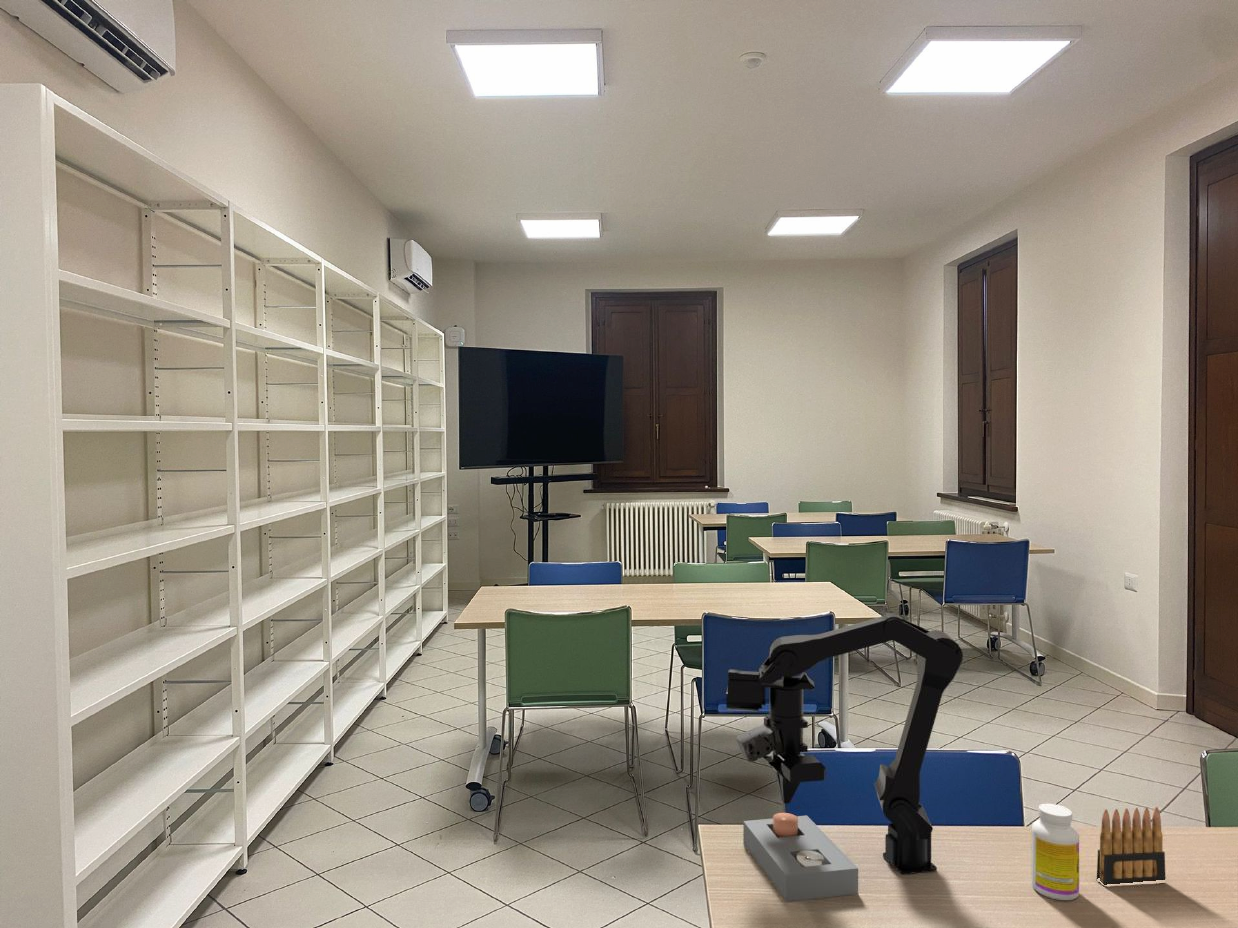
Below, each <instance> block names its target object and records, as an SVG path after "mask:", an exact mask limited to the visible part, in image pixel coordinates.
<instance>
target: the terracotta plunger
mask: <svg viewBox="0 0 1238 928" xmlns="http://www.w3.org/2000/svg"><path fill="white" fill-rule="evenodd" d="M796 816H797V815H794V814H792V813H788V812H777V813H775V814H774V815H773V816H772V819H773V833H774V834H775V835H776V837H777V838H779V837H790V836H798V818H797V817H796Z"/></svg>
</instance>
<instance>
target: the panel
mask: <svg viewBox="0 0 1238 928" xmlns="http://www.w3.org/2000/svg"><path fill="white" fill-rule="evenodd" d="M795 816H796V817H797V818H798V836H790V837H779V838H777V837H776V835H775V834H774V833H773V818H763V819H752V820H751V819H750V820H743V823H742V825H743V831H742V833H743V834H742V835H743V840H742V841H743V845H744V847H745V848H746V849H747V850H748V852H749V853H750V855H751V856H752V857H753V859H754V860H755V862H756V863H757V864H758V866H759V867H760V869H762V871H763V872H764V874H765V875H766V877H768V879H769V881H770V882H771V883H772V885H773V886H774V888H776V890H777V891H778V893H779V894H780V896H781V897H782V898H783V900H784V901H785V902H786V903H788V902H795V901H796V902H797V901H804V900H812V899H813V900H814V899H821V898H822V899H823V898H832V897H833V898H834V897H842V896H849V895H850V896H851V895H858V894H859V867H858V866H857V865H856V864H855V863H854V862H853V861H852V860H851V859H850V858H849V857H848V856H847V855H846V854H845V853H844V852H843V851H842V850H841V849H840V848H839V846H837V845H836V844H835V843H834V842H833V840H831V838H830V837H828V835H826V833H825V832H824V831H823V830H822V829H821V828H820V827H819V826H818V825H817V824H816V823H815V822H814V821H813V820H812V819H811V818H810V817H809V816H808V815H795ZM805 850H809V851H815V852H818V853H820V854H821V855H822V856H823V857H824V865H818V866H808V867H802V866H801V865H800V864H799V863H798V862H797V853H798V852H800V851H805Z"/></svg>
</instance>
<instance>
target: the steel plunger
mask: <svg viewBox="0 0 1238 928" xmlns="http://www.w3.org/2000/svg"><path fill="white" fill-rule="evenodd" d="M797 862H798V863H799V864H800V865H801V866H802V867H808V866H818V865H824V857H823V856H822V855H821V854H820V853H818V852H815V851H809V850H805V851H800V852H798V853H797Z"/></svg>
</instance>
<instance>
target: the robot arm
mask: <svg viewBox="0 0 1238 928" xmlns="http://www.w3.org/2000/svg"><path fill="white" fill-rule="evenodd" d="M888 642H895V643H898V644H900V645H901V646H903V647H904V648H906V649H908V650H909V651H910V652H913V653H915V654H916V655H917V659H916V673H917V675H916V677H917V680H916V685H915V688H914V691H913V695H912V698H911V702H910V706H909V708H908V713H907V715H906V719H905V723H904V726H903V730H902V734H901V736H900V740H899V744H898V746H897V747H898V748H897V749H896V750H897V751H896V754H895V757H894V759H893V761H892V762H891V763H890V764H889V766H887V765H885V764H883V763H880V764H879V774H878V777H877V780H876V781H875V782H874V783H873V785H874V787H875V790H876V791H875V792H876V796H877V798H878V801H879V804H880V808H881V810H882V813H883V814H884V816H885V819H887V820H888V821H889V822H890V823H888V824H887V833H886V834H885V837H884V838H885V840H884V842H885V844H884V845H885V848H884V849H885V852H882V857H883V858H884V859H885V860H886V861H887V862H888V863H890V865H891V866H892V867H894V868H895V870H896V871H898V872H899V873H900V874H902V875H909V874H918V873H928V872H937V871H938V869H937V868H938V867H937V866H936V865H935V864H934V863H933V862H932V832H933V830H934V828H933V825H932V823H931V822H930V819H929V817H928V815H927V813H926V810H925V808H924V806H923V804H922V803H920V800H921V771H922V766H923V763H924V759H925V756H926V752H927V749H928V746H929V742H930V739H931V735H932V732H933V728H934V724H935V721H936V718H937V715H938V710H939V707H940V705H941V700H942V698H943V694H944V692H945V691H946V689H947V688H948V687H949V685H950V684H951V683H952V681H953V680H954V679H955V677H956V675H957V673H958V671H959V669H960V668H961V665H962V663H963V657H964V654H963V653H964V652H963V649H962V648H961V646H960V645H959V644H958V643H957V641H955V640H954V639H953V638H952V637H951V636H950V635H948V633H947V632H944V631H942V630H937V629H935V630H927V629H925V628H924V627H923V626H920V625H917V624H916V623H913V622H911V621H909V620H907V619H904V618H902V617H901V616H900V615H898V614H897V613H893V612H890V613H889V612H887V613H885V614H883V615H881V616H879V617H875V618H871V619H868V620H865V621H861V622H857V623H853V624H850V625H847V626H844V627H841V628H836V629H833V630H830V631H827V632H822V633H818V634H797V635H788V636H785V635H784V636H781V637H778V638H776V639H774V641H773V642H772V644H771V645H770V648H769V656H768V657H767V658H766V660H765V661H764V662H763V663H762V664H761V665H760V667H759V669H758V671H750V670H747V671H745V670H739V669H734V668H733V669H730V668H729V670H728V673H727V688H726V692H725V693H726V699H725V700H726V702H725V703H726V710H727V711H740V712H742V711H743V712H745V711H746V712H760V710H762V709H763V707H765V706H766V688H769V714H765V717H763V725H760V726H756V727H754V728H751V729H749V730H747V731H744V732H742V733H739V734H738V735H737V736H736V738H735V739H736V741H737V744H738V748H739V750H740V753H741V755H742V756H743V757H744V758H745V759H746V760H747V762H749V763H752V762H753V763H754V762H755V761H758V759H762V758H763V760H764V761H765V762H766V763H767V764H768V765H769V766H770V767H771V768H772V769H773V771H774V775H775V779H776V782H777V786H778V790H779V793H780V798H781V801H782V802H783V804H785V805H787V804H791V802H792V800H793V798H794V796H795V794H796V792H797V790H798V789H799V787H800V784H801V783H807V782H818V781H820V782H821V781H825V780H826V779H827V777H826V774H827V773H826V771H827V770H826V769H827V767H826V766H825V765H824V764H823V763H822V762H821V761H820V760H818V759H817V758H816V757H815V756H814V755H812V754H809V755H807V754H806V755H805V754H804V753H808V750H809V749H808V747H809V746H808V745H807V744H806V743H805V742H804V729H805V728H809V725H808V721H807V720H806V719H805V718H804V690H809V691H814V690H815V688H816V687H815V682H814V680H812V679H811V678H810V677H809V676H808V674H807V673H806V671H809V670H810V669H812V668H814V667H815V666H817V665H819V663H821V662H823V661H825V660H827V659H831V658H834V657H838V656H842V655H845V654H848V653H852V652H855V651H859V650H863V649H867V648H871V647H873V646H877V645H881V644H884V643H888Z"/></svg>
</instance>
